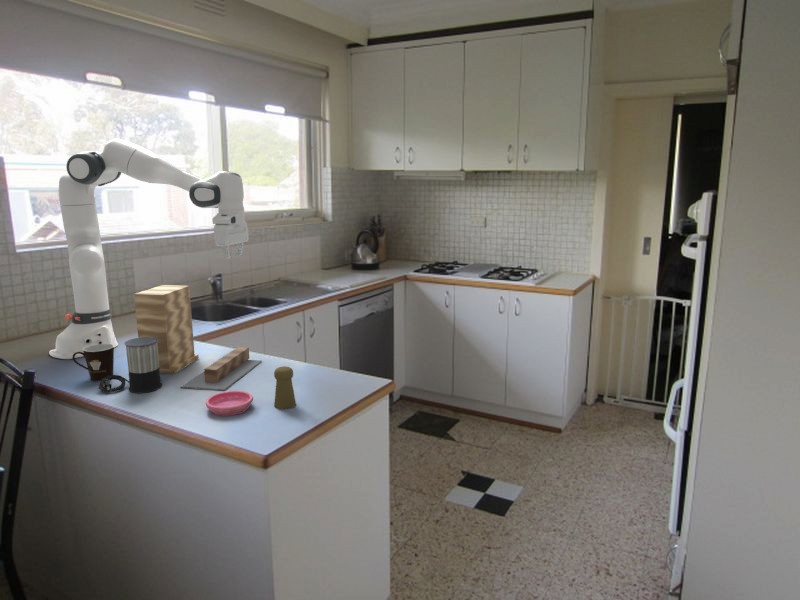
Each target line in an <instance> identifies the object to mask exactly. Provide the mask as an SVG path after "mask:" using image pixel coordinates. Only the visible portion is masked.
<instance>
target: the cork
mask: <svg viewBox="0 0 800 600" xmlns="http://www.w3.org/2000/svg"><path fill="white" fill-rule="evenodd" d="M273 374H274V375H273V376H274V379H275V380H276V381H275V390H274V391H275V392H274V402H273V403H274V404H273V405H274V407H273V408H274V409H277V410H290V409H293V408H295V407H296V406H297V403H296V397H295V391H294V387H293V386H294V385H293V381H292V379H293V377H294V370H293V368H292V367H290V366H279V367H277V368H275V370H274V371H273Z"/></svg>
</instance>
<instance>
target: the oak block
mask: <svg viewBox="0 0 800 600" xmlns="http://www.w3.org/2000/svg"><path fill="white" fill-rule="evenodd" d="M190 289H191V288H190V285H177V284H176V285H173V284H172V285H171V284H160V285H159V286H155V287H152V288H149V289H146V290H142V291H139V292H136V293H133V296H134V297H133V298H134V299H133V300H134V307H135V317H136V318H135V319H136V327H137V338H141V337H153V338H157V339H158V342H157V346H158V357H159V368H160V374H171V375H174V374H176V373H178V372H179V371H181V370H183V369H184V368H186V367H188V366H190V365H191V364H192V362H193V361H194V362H196V361H197V359H198V358H199V355H200V354H196V353H195V344H194V343H195V342H194V330H193V317H192V316H193V315H192V304H191V291H190ZM195 360H196V361H195ZM198 360H199V359H198ZM194 362H193V363H194ZM190 363H191V364H190ZM187 365H188V366H187ZM185 366H186V367H185ZM182 368H183V369H182Z"/></svg>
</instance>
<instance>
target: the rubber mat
mask: <svg viewBox="0 0 800 600" xmlns="http://www.w3.org/2000/svg"><path fill="white" fill-rule="evenodd" d="M261 363H262V360H260V359H248V360H247V361H245V362H244V363H243V364H241V365H240V366H239V367H237V368H236V369H234V370H233V371H232V372H230V373H229V374H228V375H226V376H225V377H224V378H222V379H221V380H219V381H218V382H205V375H204V371H202V372H201V373H200V374H198V375H196V376H195V377H193V378H191V379H190V380H188V381H187V382H186V383H183V384H182V385H181V386H180V389H188V390H189V389H190V390H191V389H192V390H204V391H205V390H206V391H217V392H218V391H221V392H226V391H227V390H228V389H229V388H231V387H232V386H233V385H234V384H235V383H237V382H238V381H239V380H241V377H242V376H243V375H244V376H246V375H247V374H248V373H249V372H251V371H252V370H253V369H255V368H256V367H257V366H258V365H260V364H261ZM255 366H256V367H255ZM251 369H252V370H251ZM250 370H251V371H250ZM247 372H248V373H247ZM246 373H247V374H246ZM244 376H243V377H244ZM238 379H239V380H238ZM237 380H238V381H237ZM232 384H233V385H232Z"/></svg>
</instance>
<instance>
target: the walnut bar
mask: <svg viewBox="0 0 800 600" xmlns="http://www.w3.org/2000/svg"><path fill="white" fill-rule="evenodd" d="M247 360H250V347H245V346H243V347H242V346H237V347H236V348H234V349H233V350H231V351H229V352H228V353H226V354H225V355H224V356H222V357H220V358H219V359H218V360H216V361H214V362H213V363H211V364H209V366H207V367H205V368H204V369H203V372H204V375H205V382H218V381H219V380H221V379H222V378H224V377H225V376H226V375H228V374H229V373H230V372H232V371H233V370H234V369H236V368H237V367H239V366H240V365H241V364H243V363H244V362H245V361H247Z"/></svg>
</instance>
